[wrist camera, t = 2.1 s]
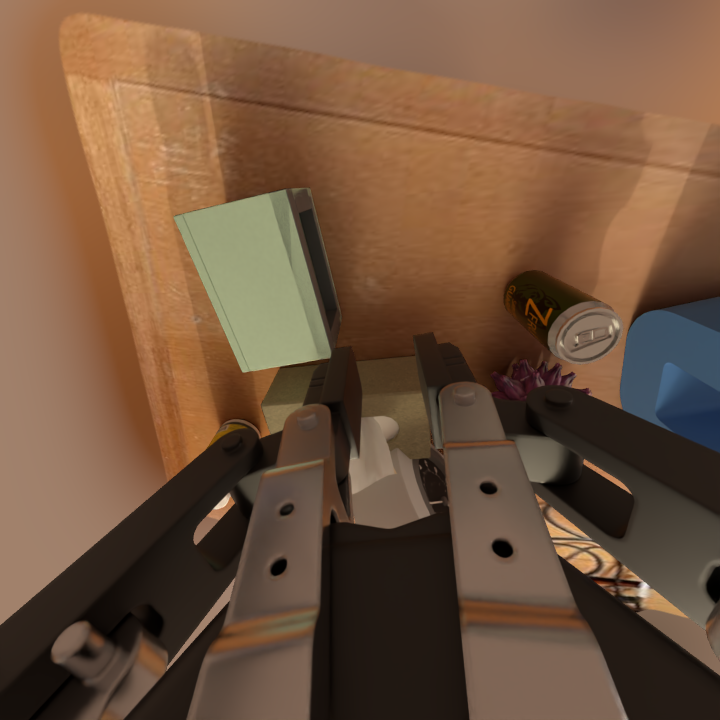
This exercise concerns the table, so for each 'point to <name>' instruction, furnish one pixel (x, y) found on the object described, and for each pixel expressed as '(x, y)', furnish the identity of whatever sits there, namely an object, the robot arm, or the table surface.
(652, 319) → the block
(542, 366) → the flower
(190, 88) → the table surface
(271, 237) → the pale green open box
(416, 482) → the alarm clock
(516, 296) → the beer can
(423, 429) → the tissue box
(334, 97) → the table surface
